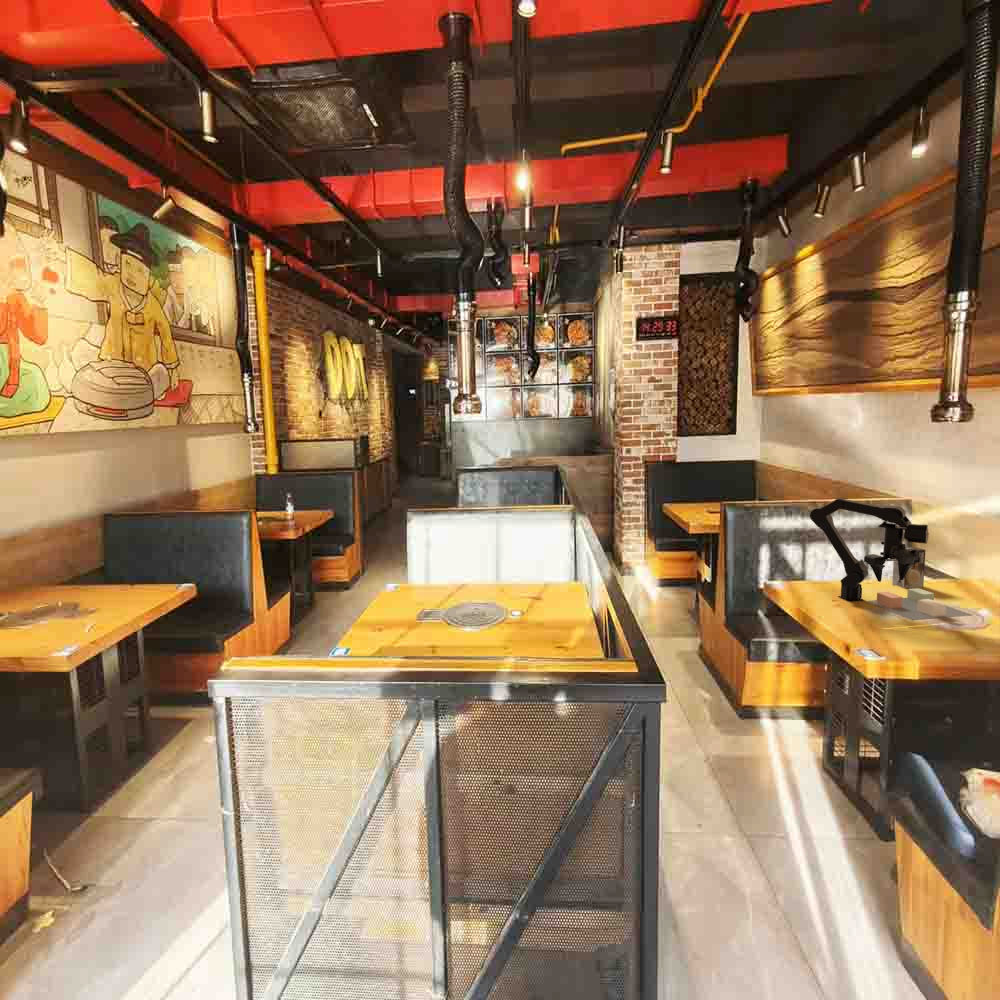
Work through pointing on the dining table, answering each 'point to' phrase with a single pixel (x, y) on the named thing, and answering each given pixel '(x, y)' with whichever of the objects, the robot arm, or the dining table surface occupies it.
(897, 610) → the baseplate
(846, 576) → the robot arm
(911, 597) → the sage brick
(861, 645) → the dining table surface
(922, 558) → the coffee box
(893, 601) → the terracotta brick
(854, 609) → the dining table surface
